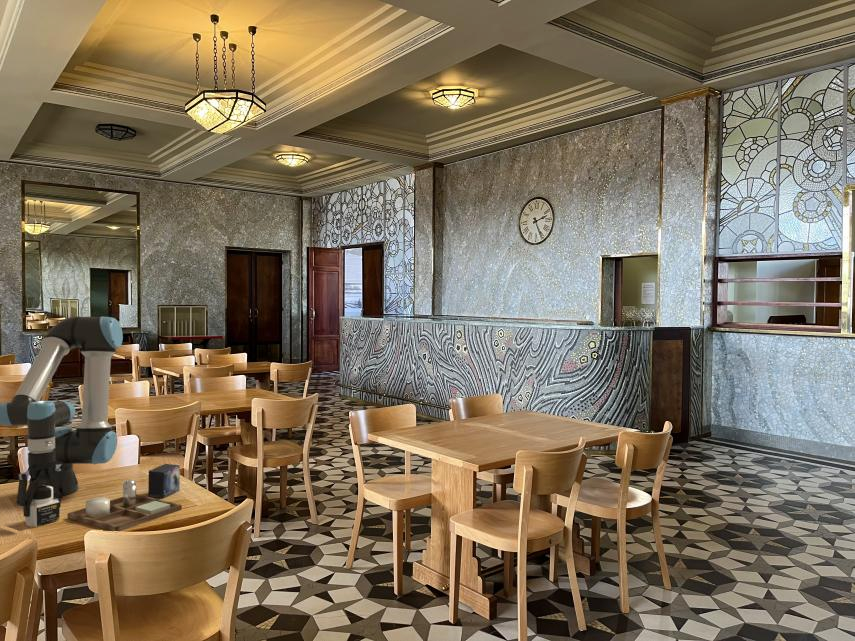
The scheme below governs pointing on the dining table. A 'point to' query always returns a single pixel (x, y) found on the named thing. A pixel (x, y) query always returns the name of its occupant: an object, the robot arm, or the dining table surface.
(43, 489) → the medicine bottle
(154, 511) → the napkin stack
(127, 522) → the caddy
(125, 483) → the metal shaker
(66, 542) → the dining table surface
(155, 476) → the small box
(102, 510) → the silver rounded block
